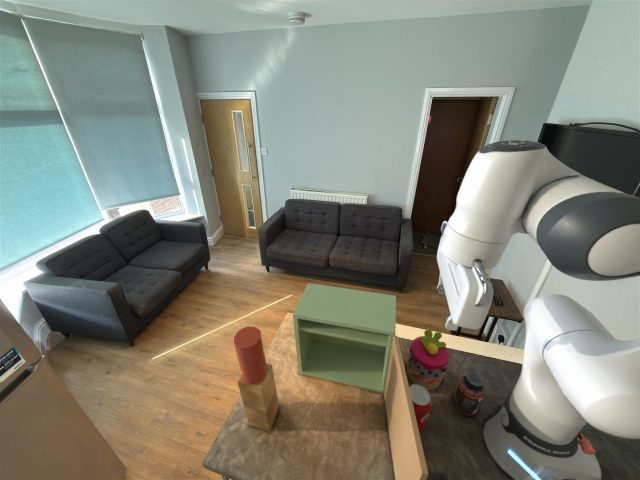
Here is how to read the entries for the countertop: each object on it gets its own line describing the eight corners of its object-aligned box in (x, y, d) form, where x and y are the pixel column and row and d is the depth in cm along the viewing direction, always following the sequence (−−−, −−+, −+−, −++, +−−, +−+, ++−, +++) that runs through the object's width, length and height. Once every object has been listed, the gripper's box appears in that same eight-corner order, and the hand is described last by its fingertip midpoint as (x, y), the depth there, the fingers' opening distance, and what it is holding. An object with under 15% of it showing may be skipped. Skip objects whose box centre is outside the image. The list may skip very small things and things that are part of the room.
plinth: (279, 407, 72) (272, 364, 63) (270, 431, 67) (261, 387, 58) (259, 402, 73) (249, 359, 65) (248, 424, 68) (237, 381, 60)
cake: (448, 391, 75) (460, 355, 68) (410, 390, 75) (419, 355, 68) (434, 359, 84) (444, 325, 77) (401, 358, 84) (408, 325, 77)
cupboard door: (407, 397, 73) (420, 336, 62) (435, 535, 50) (465, 477, 39) (384, 396, 74) (393, 335, 63) (402, 531, 51) (421, 473, 39)
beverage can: (426, 438, 64) (435, 410, 59) (400, 433, 66) (406, 405, 60) (423, 412, 70) (430, 384, 64) (398, 407, 71) (404, 379, 65)
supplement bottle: (481, 416, 69) (493, 390, 63) (458, 416, 69) (468, 390, 63) (470, 394, 74) (480, 368, 69) (448, 394, 74) (457, 368, 69)
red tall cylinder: (271, 364, 63) (265, 329, 58) (260, 387, 58) (253, 350, 53) (249, 359, 65) (242, 324, 59) (237, 381, 60) (227, 344, 54)
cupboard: (386, 393, 74) (395, 332, 63) (298, 373, 81) (292, 314, 69) (387, 353, 86) (396, 295, 75) (311, 338, 93) (308, 282, 81)
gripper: (517, 289, 33) (477, 359, 40) (475, 223, 51) (453, 280, 57) (464, 279, 34) (434, 348, 41) (441, 218, 52) (423, 274, 58)
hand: (445, 308), depth 49 cm, fingers open, 8 cm apart
